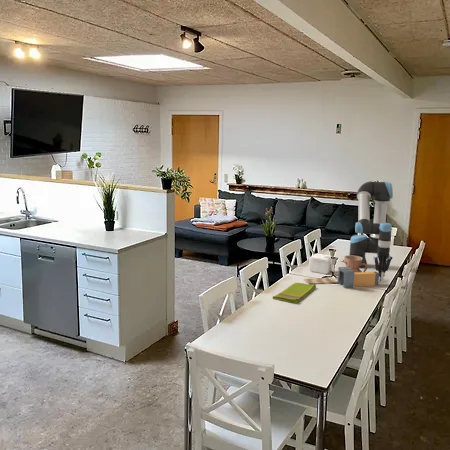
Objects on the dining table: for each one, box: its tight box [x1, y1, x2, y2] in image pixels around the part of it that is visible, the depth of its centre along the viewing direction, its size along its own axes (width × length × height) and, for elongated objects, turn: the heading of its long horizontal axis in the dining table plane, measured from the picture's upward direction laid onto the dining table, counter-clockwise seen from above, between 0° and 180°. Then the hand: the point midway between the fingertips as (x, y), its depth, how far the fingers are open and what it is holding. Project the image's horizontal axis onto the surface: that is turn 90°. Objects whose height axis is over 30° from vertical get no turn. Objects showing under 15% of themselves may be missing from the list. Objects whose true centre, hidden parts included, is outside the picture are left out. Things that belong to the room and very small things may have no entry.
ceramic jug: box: [340, 254, 368, 272], centre depth 320 cm, size 18×14×14 cm
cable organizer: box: [308, 253, 332, 275], centre depth 332 cm, size 15×11×12 cm
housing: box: [337, 266, 354, 289], centre depth 301 cm, size 6×10×12 cm, turn 12°
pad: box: [303, 277, 338, 285], centre depth 309 cm, size 20×10×1 cm, turn 102°
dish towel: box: [272, 282, 317, 305], centre depth 284 cm, size 15×36×3 cm, turn 150°
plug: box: [353, 271, 380, 287], centre depth 304 cm, size 18×4×8 cm, turn 102°
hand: (380, 281), depth 307 cm, fingers closed
